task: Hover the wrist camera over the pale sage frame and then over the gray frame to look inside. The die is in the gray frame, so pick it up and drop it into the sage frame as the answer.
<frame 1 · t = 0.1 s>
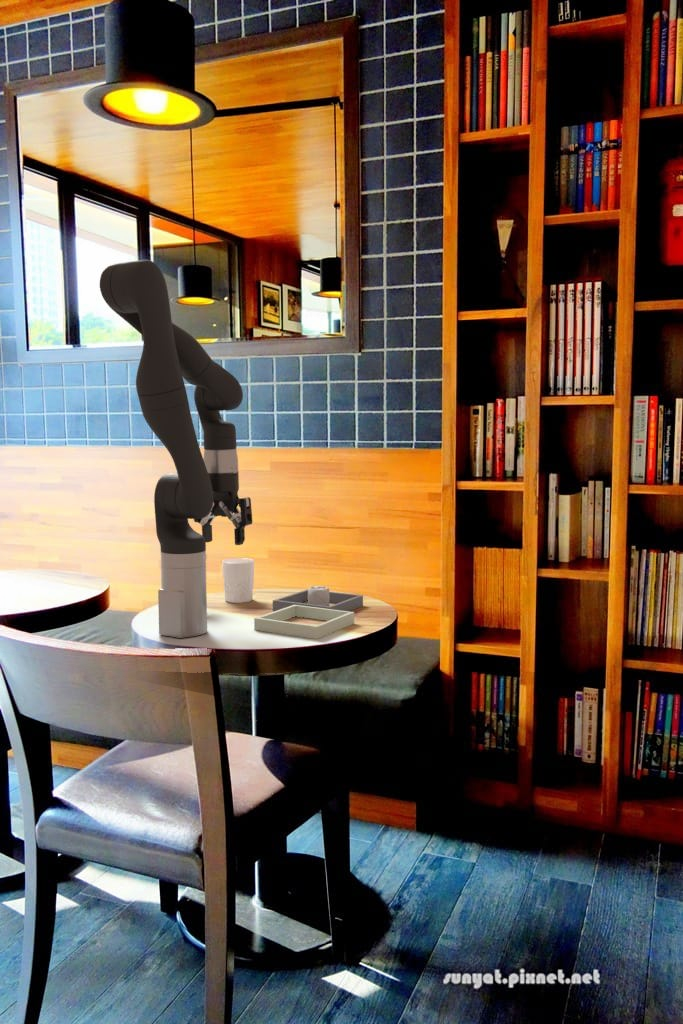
hand: (223, 543, 181), 17 cm above the table, tool pointing down, fingers open, 8 cm apart
sage frame: (305, 626, 177), on the table
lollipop: (194, 608, 196), on the table
white cup: (238, 601, 204), on the table
die: (318, 609, 195), resting in gray frame
gray frame: (318, 608, 195), on the table
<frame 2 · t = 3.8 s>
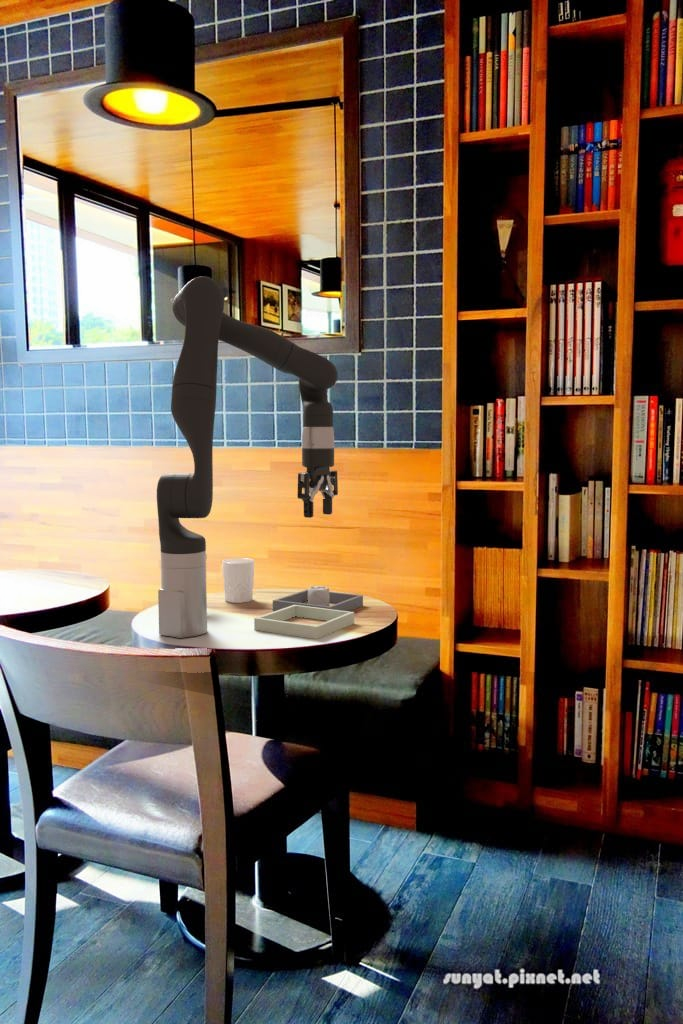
hand: (318, 515, 193), 22 cm above the table, tool pointing down, fingers open, 8 cm apart
nothing on the table moved.
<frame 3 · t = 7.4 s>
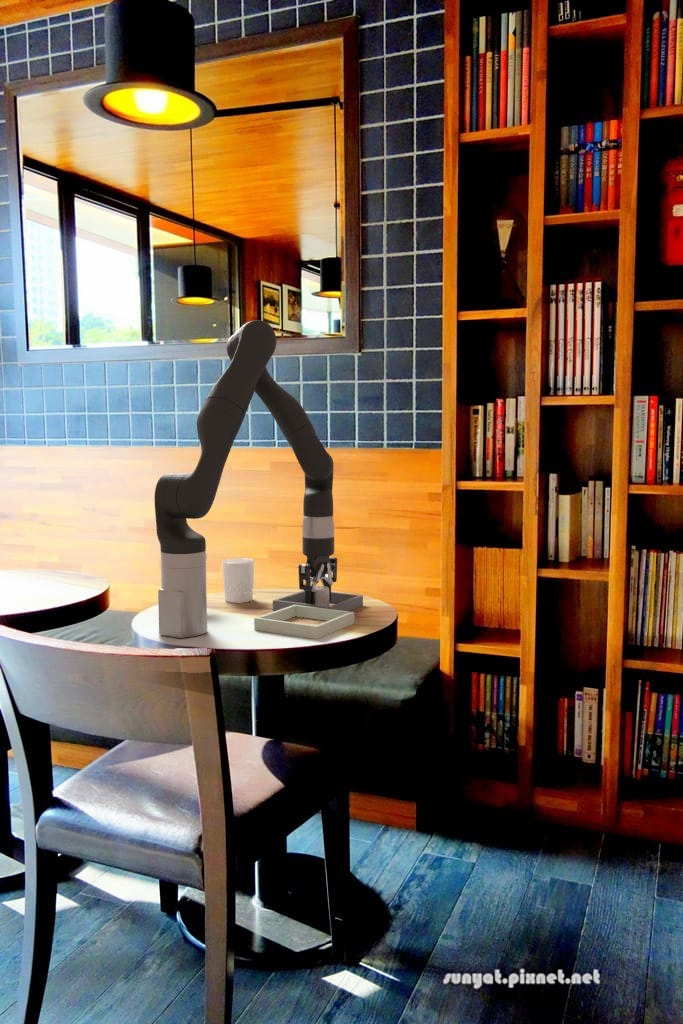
hand: (318, 603, 195), 1 cm above the table, tool pointing down, fingers closed on die, 7 cm apart
die: (318, 609, 195), resting in gray frame, touching gripper
everything else where it was.
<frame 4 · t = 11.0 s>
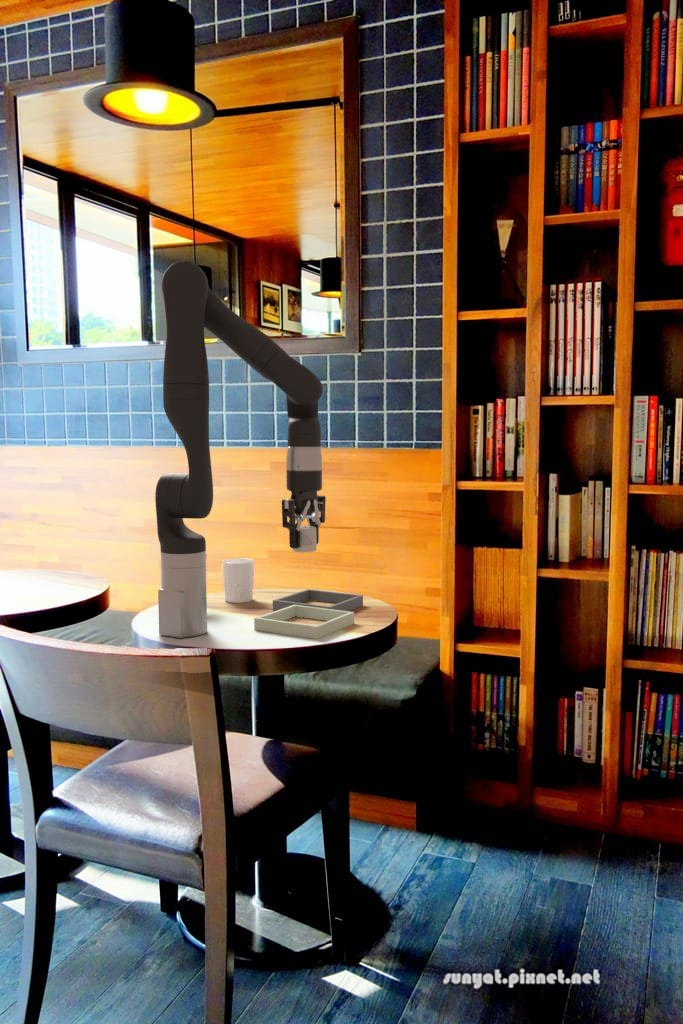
hand: (304, 545, 175), 18 cm above the table, tool pointing down, fingers closed on die, 7 cm apart
die: (304, 551, 175), point 16 cm above the table, touching gripper
everything else where it was.
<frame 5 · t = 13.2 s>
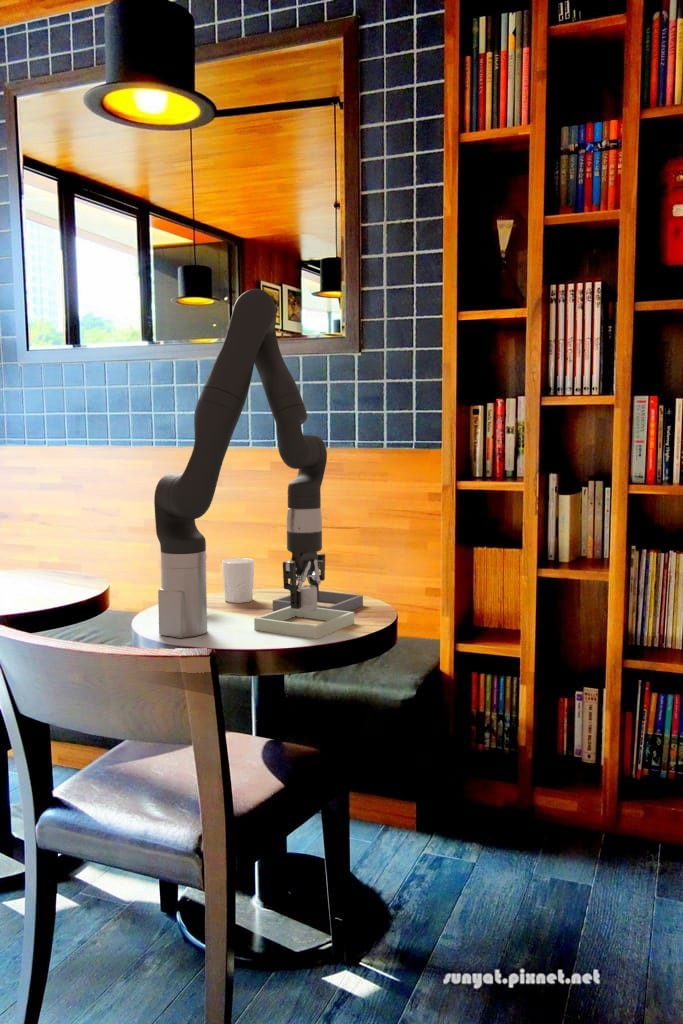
hand: (305, 604, 177), 5 cm above the table, tool pointing down, fingers closed on die, 7 cm apart
die: (305, 610, 177), point 3 cm above the table, touching gripper
everything else where it was.
when the fingers open (2 cm above the table, at t = 14.8 s): die drops 1 cm, resting in sage frame.
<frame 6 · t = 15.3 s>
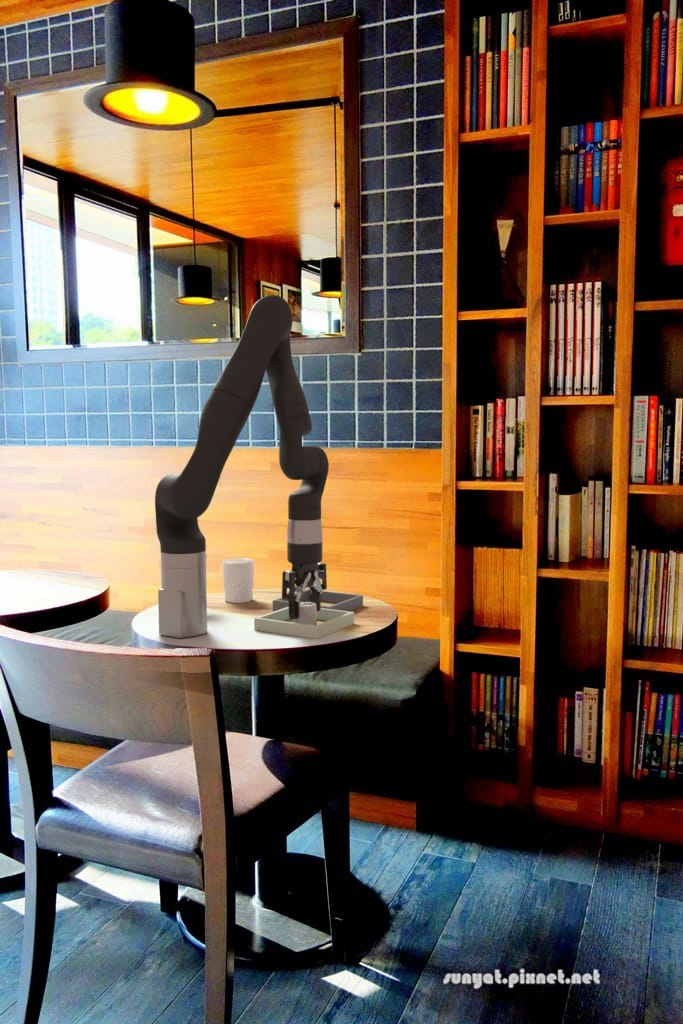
hand: (305, 614, 177), 3 cm above the table, tool pointing down, fingers open, 8 cm apart
die: (304, 627, 177), resting in sage frame
everything else where it was.
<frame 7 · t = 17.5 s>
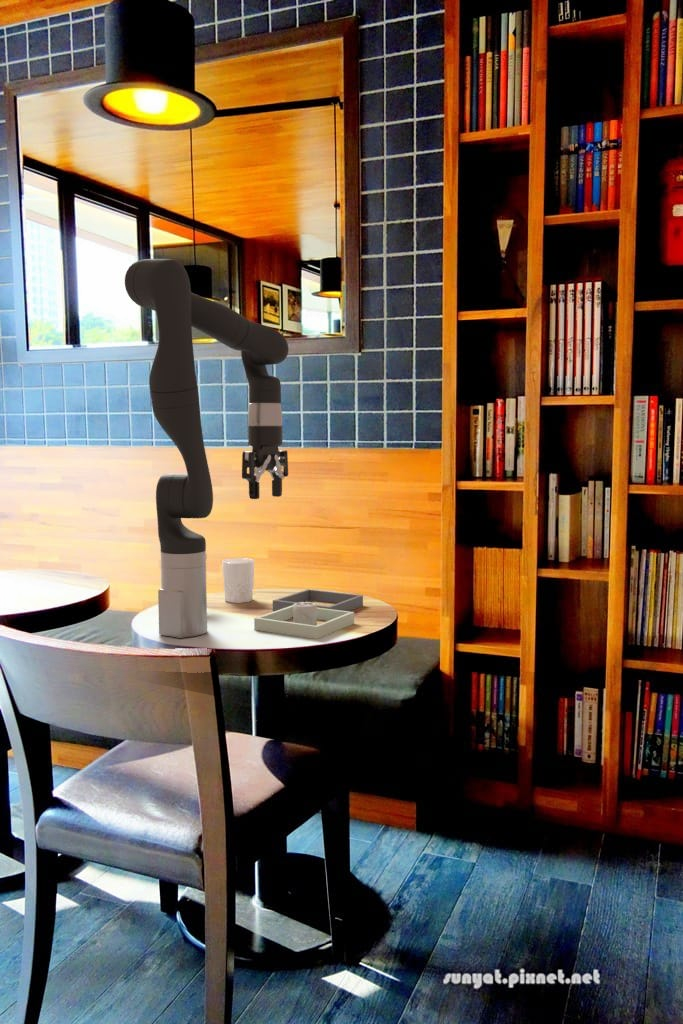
hand: (266, 497, 183), 27 cm above the table, tool pointing down, fingers open, 8 cm apart
nothing on the table moved.
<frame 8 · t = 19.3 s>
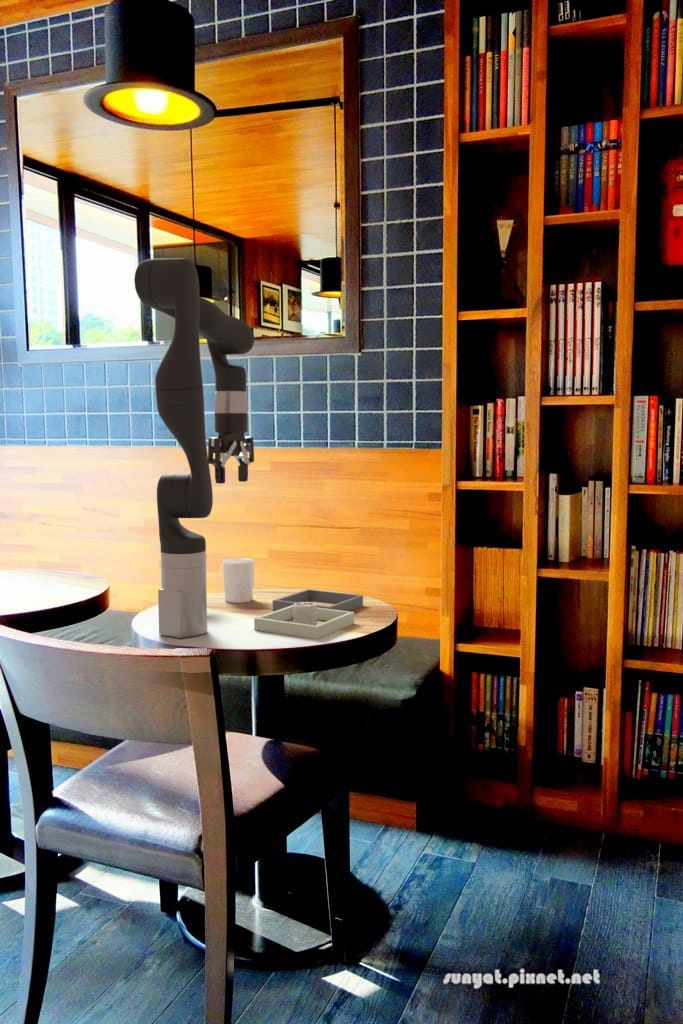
hand: (232, 482, 190), 30 cm above the table, tool pointing down, fingers open, 8 cm apart
nothing on the table moved.
at the end: die inside the target area on the sage frame (0.1 cm from its centre), point 0.0 cm above the sage frame's base; the gripper is holding nothing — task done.
